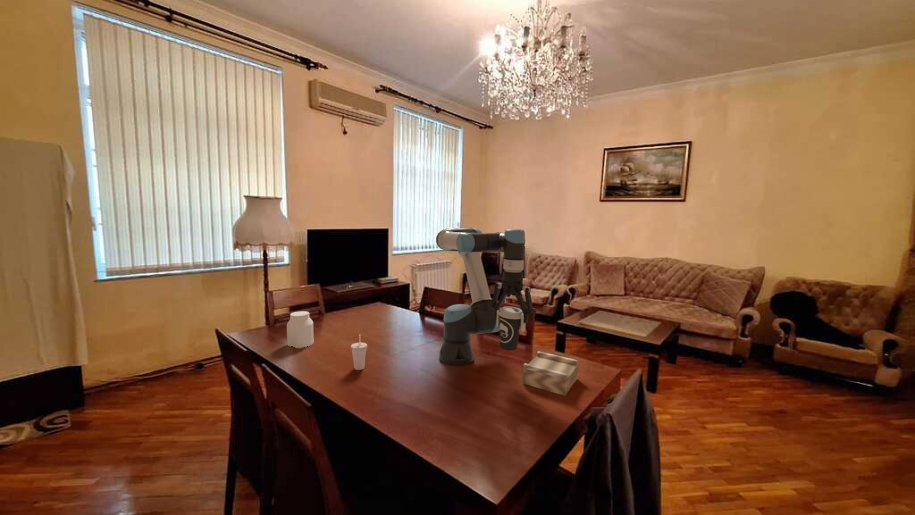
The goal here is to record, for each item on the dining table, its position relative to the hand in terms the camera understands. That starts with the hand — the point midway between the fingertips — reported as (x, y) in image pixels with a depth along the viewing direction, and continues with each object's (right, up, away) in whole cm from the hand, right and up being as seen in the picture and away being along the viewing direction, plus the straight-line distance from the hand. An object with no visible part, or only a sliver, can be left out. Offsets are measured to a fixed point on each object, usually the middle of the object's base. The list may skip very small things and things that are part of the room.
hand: (510, 328), depth 133 cm
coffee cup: (-1, -8, +1) cm, 8 cm away
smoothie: (-60, -18, +8) cm, 63 cm away
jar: (-95, -14, +33) cm, 102 cm away
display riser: (+15, -20, 0) cm, 25 cm away
